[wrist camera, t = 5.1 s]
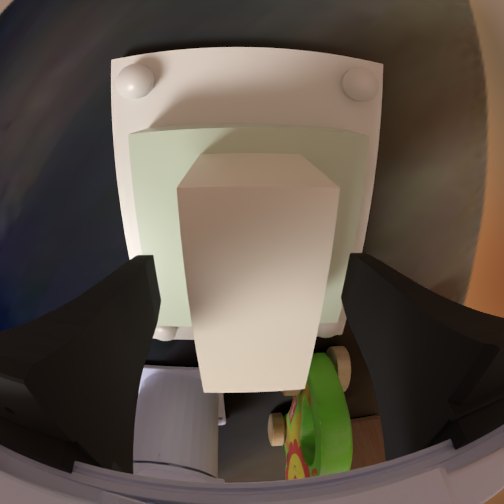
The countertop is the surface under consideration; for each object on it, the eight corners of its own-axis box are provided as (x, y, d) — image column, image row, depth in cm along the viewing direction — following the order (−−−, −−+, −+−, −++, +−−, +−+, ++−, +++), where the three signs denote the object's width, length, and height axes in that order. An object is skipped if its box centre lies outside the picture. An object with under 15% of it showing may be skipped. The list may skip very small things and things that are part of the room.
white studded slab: (338, 325, 21) (353, 364, 18) (151, 329, 21) (139, 369, 17) (375, 65, 13) (412, 59, 9) (118, 61, 12) (85, 53, 9)
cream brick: (287, 311, 15) (304, 389, 11) (210, 313, 15) (203, 392, 11) (300, 154, 11) (339, 188, 7) (200, 154, 11) (176, 187, 7)
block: (302, 421, 28) (330, 584, 11) (382, 410, 29) (426, 551, 11) (288, 454, 33) (304, 581, 15) (355, 445, 34) (383, 560, 16)
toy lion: (278, 338, 22) (310, 541, 8) (346, 334, 22) (409, 514, 9) (263, 432, 29) (274, 552, 16) (310, 428, 29) (331, 544, 16)
